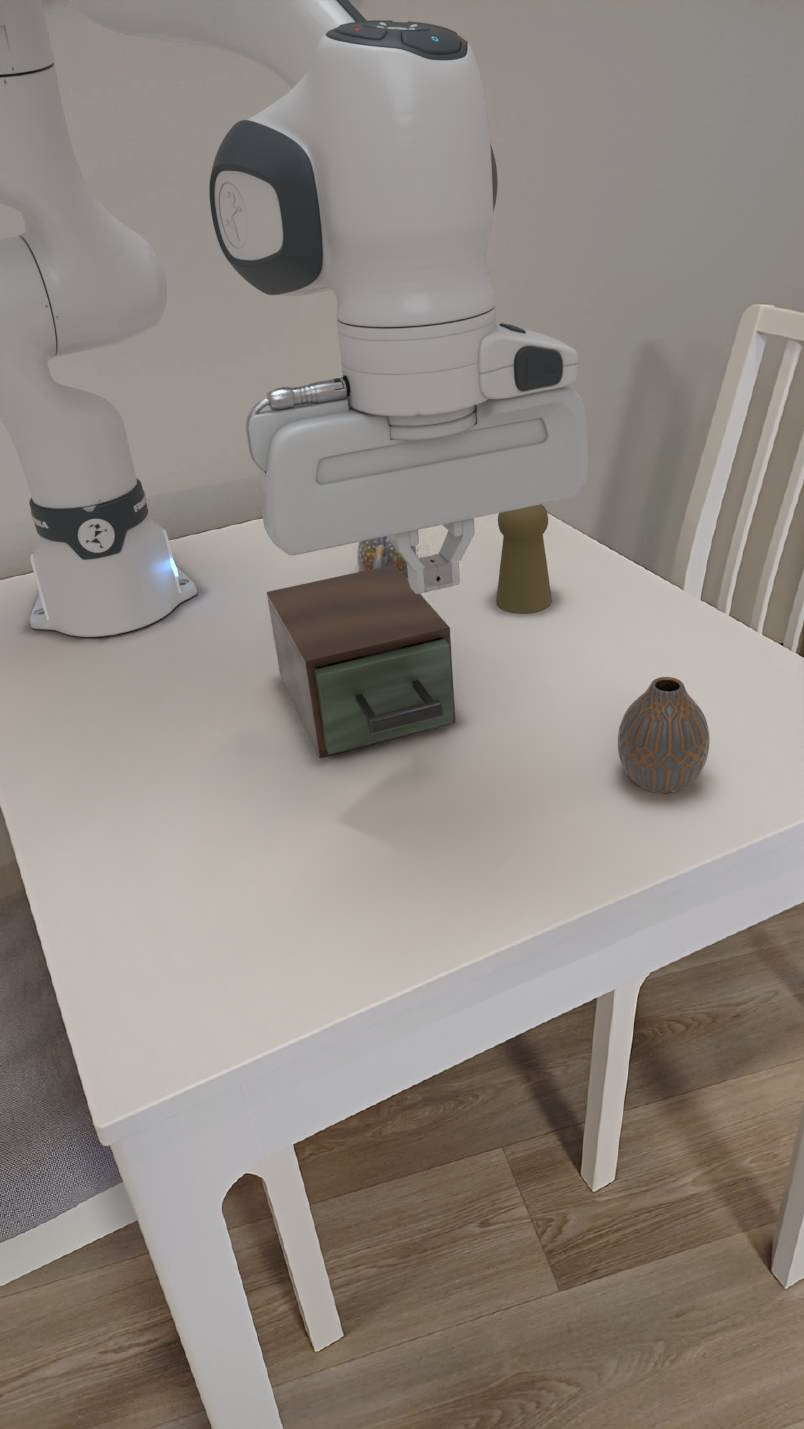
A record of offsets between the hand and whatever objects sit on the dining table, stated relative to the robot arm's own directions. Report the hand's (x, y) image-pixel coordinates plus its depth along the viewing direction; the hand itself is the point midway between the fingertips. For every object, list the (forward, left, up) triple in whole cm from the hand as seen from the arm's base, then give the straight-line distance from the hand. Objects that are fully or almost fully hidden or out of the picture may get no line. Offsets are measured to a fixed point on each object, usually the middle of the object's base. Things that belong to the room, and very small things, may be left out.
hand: (434, 586), depth 64 cm
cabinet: (-22, 0, -21) cm, 30 cm away
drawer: (-18, 0, -20) cm, 27 cm away
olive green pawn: (-34, +22, -21) cm, 46 cm away
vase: (0, +18, -21) cm, 28 cm away
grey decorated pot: (-46, +10, -21) cm, 51 cm away
